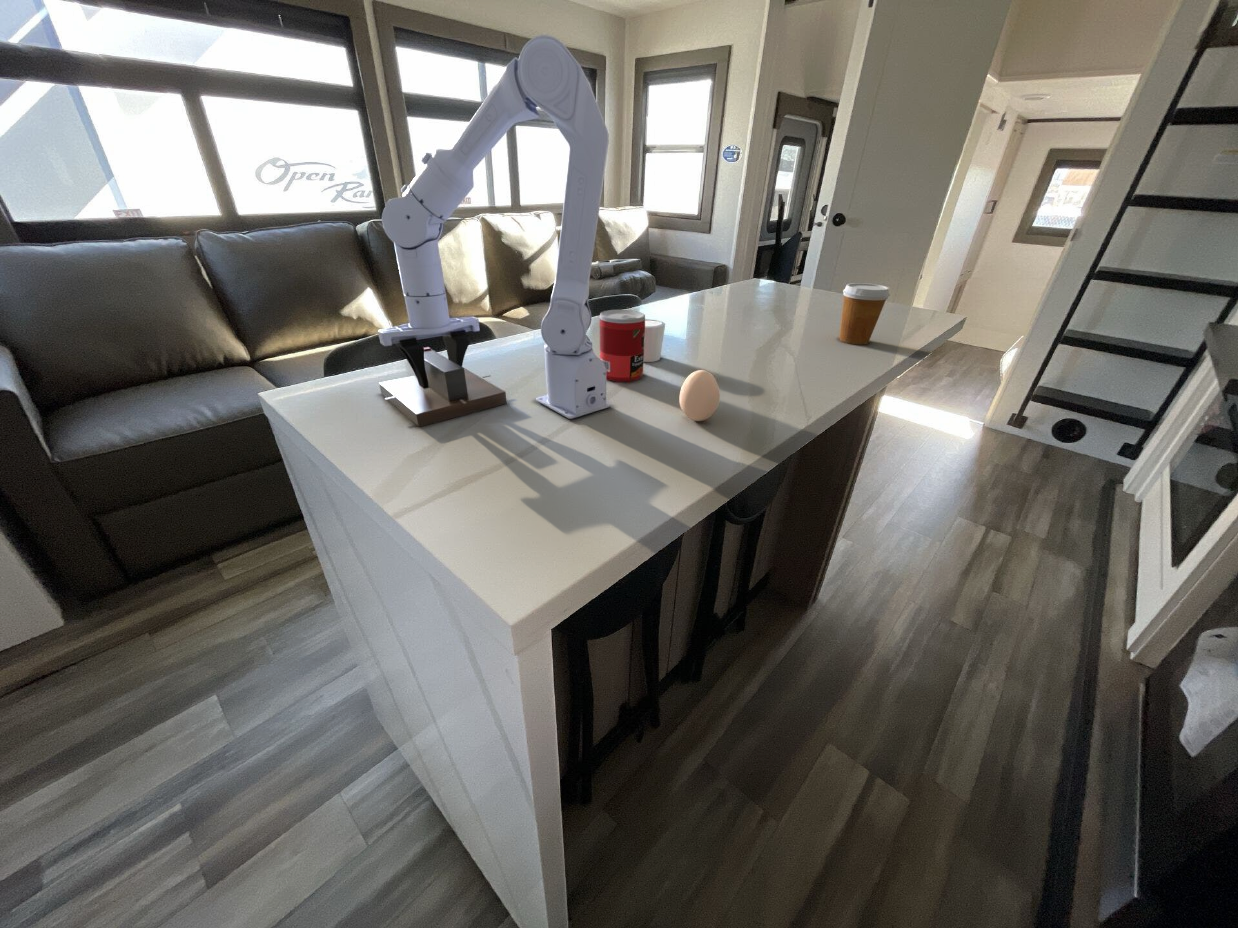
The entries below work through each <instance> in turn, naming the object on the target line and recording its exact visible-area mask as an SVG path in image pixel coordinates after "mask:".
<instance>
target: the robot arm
mask: <svg viewBox="0 0 1238 928" xmlns="http://www.w3.org/2000/svg"><path fill="white" fill-rule="evenodd" d="M519 53H520V54H519V56H518V58H517V57H516V56H515V57H513V59H511V61H509V62H508V64H507V65H506V66H505V67H504V70H503V71H502V72H501V74H500V76H499V77H498V79H497V81H496V83H495V84H494V86H493V87H492V88H491V90H490V91H489V93H488V94H487V96H486V97H485V99H484V100H483V102H482V103H481V105H480V106H479V107H478V109H477V110H476V112H475V113H474V115H473V116H472V117H471V119H470V121H469V122H468V123H467V125H466V126H465V128H464V129H463V131H462V132H461V134H460V135H459V137H458V138H457V140H456V141H455V143H454V144H453V145H452V147H451V148H450V149H443V148H437V149H435V150H434V152H433V153H431V152H426V153H425V154H424V155H423V156H422V158H421V162H422V163H423V164H424V165H423V166H422V167H421V169H420V170H419V171H418V173H417V174H416V175H415V177H414V178H413V179H412V181H411V182H410V184H403V186H402V187H401V189H400V192H401V193H402V197H393V198H391V199H388V200H387V201H386V203H385V207H384V208H383V210H382V213H381V225H382V228H383V231H384V233H385V234H386V236H387V237H388V239H389V240H390V241H391V242H392V243H393V245H394V250H395V255H396V256H395V257H396V262H397V267H398V270H399V271H398V272H399V277H400V283H401V288H402V294H403V298H404V303H405V308H406V313H407V318H408V323H403V324H401V325H395V326H392V327H387V328H382V329H378V330H377V335H378V339H379V343H380V344H381V345H382V346H384V347H391V346H393V344H395V346H396V347H397V349H398V350H399V351H400V353H401V354H402V355H403V356H404V358H405V359H406V361H407V362H408V364H409V366H410V367H411V369H412V371H413V373H414V376H415V375H416V378H417V380H418V383H419V385H420V386H421V387H422V388H424V389H426V388H429V386H428V379H427V375H426V370H425V363H424V348H425V347H424V346H421V345H420V342H419V341H420V340H424V339H432V338H437V337H442V339H443V340H442V341H443V343H444V346H445V350H446V354H447V359H449V360H451V361H453V362H454V363H456V364H458V365H459V366H461V367H463V363H464V359H465V355H466V352H467V350H468V348H469V346H470V343H471V337H470V335H469V334H467V332H480V331H481V329H480V321H479V318H478V317H476V316H474V315H473V316H472V315H471V316H463V317H462V316H461V317H450V311H449V305H448V299H447V292H446V285H445V279H444V272H443V265H442V259H441V255H440V247H439V239H440V237H441V236H442V233H443V229H444V228H443V227H444V226H443V225H444V223H446V222H447V220H448V219H449V218H450V217H451V215H452V214H453V213H454V212H455V211H456V209H457V208H458V207H459V206H460V204H461V203H462V202H463V201H464V200H465V198H466V197H467V196H468V195H469V194H470V192H472V190H473V188H474V185H475V182H474V170H475V169H476V168H477V167H478V165H479V164H480V163H481V162H483V159H484V158H485V157H487V155H488V154H489V153H490V152H491V151H492V149H493V148H494V147H495V146H496V145H497V144H498V143H499V141H501V139H502V138H503V137H504V136H505V135H506V133H508V131H510V129H511V128H513V125H515V124H517V123H521V122H526V121H531V120H532V121H533V120H536V119H540V118H541V117H540V114H539V112H538V109H537V108H539V109H540V110H541V111H543V112H544V113H545V114H547V115H548V116H549V117H550V118H551V119H552V120H553V123H554V125H555V126H556V128H557V129H558V130H559V132H560V133H561V135H562V136H563V138H564V140H565V141H566V142H567V144H568V146H569V150H568V161H567V169H566V170H567V171H566V179H565V189H564V196H563V207H562V216H561V226H560V234H559V244H558V254H557V261H556V270H555V271H556V272H555V280H554V284H553V288H552V293H551V295H550V303H549V308H548V311H547V313H546V314H545V315H544V316H543V318H542V321H541V323H540V332H541V333H540V334H541V337H542V340H543V341H544V344H543V350H544V351H543V352H544V365H545V367H544V368H545V385H546V394H544V395H541V396H537V397H536V399H535V400H536V401H537V402H538V403H540V404H542V405H543V406H545V407H547V408H548V409H551V410H552V411H554V412H555V413H558V414H559V415H561V416H563V417H565V418H567V419H569V420H572V419H576V418H579V417H582V416H585V415H588V414H591V413H594V412H597V411H601V410H604V409H607V408H610V407H611V406H612V405H611V402H608V401H607V379H606V367H605V365H604V363H603V362H602V360H600V357H598V356H597V355H596V354H595V352H594V349H593V341H591V339H590V338H589V336H588V335H587V332H588V330H589V328H590V326H591V324H592V319H593V318H592V312H591V308H590V306H589V296H590V280H591V279H590V278H591V271H592V265H593V257H594V251H595V249H594V248H595V243H596V237H597V230H598V229H597V228H598V222H599V215H600V208H601V201H602V193H603V187H604V179H605V172H606V165H607V157H608V153H609V152H608V151H609V144H610V139H609V138H610V133H609V130H608V127H607V125H606V121H605V120H604V118H603V115H602V112H601V110H600V107H599V104H598V102H597V100H596V97H595V94H594V91H593V89H592V87H591V84H590V81H589V80H588V78H587V77H586V74H585V71H584V69H583V68H582V66H581V64H580V63H579V61H577V60H576V58H575V57H574V56H573V54H572V52H570V50H569V49H568V48H567V46H566V45H565V44H564V43H563V42H562V41H560V40H559V39H558V38H556V37H555V36H553V35H548V34H539V35H536V36H534V37H532V38H531V39H529V40H528V41H527V42H526V43H525V44H524V45H523V47H522V49H521V51H520V52H519ZM418 340H419V341H418Z"/></svg>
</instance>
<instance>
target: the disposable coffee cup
mask: <svg viewBox="0 0 1238 928" xmlns="http://www.w3.org/2000/svg"><path fill="white" fill-rule="evenodd" d="M842 293H843V301H842V311H841V318H840V319H841V320H840V328H839V329H840V330H839V339H838V340H839V341H841V342H843V343H846V344H850V345H867V344H869V342H870V340H871V337H872V336H873V333H874V330H875V328H876V326H877V323H878V320H879V318H880V315H881V313H882V311H883V308H884V307H885V304H886V301H887V300H888V298H889V297H890V296H891V295H890V287H889V286H886V285H882V284H876V283H868V282H867V283H866V282H865V283H864V282H856V283H855V282H852V283H847V284H846V285H845V288H844V289H842Z"/></svg>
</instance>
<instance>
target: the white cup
mask: <svg viewBox="0 0 1238 928" xmlns="http://www.w3.org/2000/svg"><path fill="white" fill-rule="evenodd" d="M665 327H666V323H665V322H663V321H662V320H657V319H647V318H645V339H644V361H643V363H653V362H658V361H659V360H660V359H661V355H662V349H663V342H664V336H665V330H666V329H665Z"/></svg>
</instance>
